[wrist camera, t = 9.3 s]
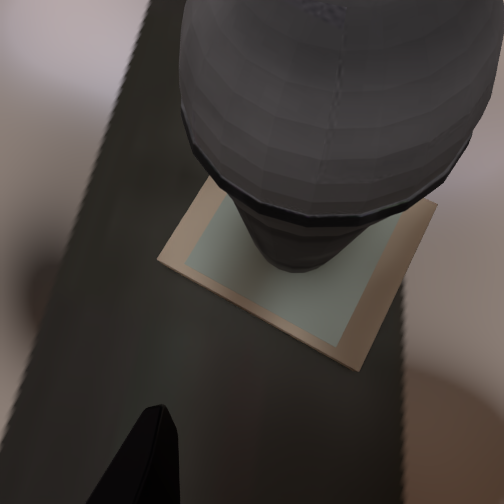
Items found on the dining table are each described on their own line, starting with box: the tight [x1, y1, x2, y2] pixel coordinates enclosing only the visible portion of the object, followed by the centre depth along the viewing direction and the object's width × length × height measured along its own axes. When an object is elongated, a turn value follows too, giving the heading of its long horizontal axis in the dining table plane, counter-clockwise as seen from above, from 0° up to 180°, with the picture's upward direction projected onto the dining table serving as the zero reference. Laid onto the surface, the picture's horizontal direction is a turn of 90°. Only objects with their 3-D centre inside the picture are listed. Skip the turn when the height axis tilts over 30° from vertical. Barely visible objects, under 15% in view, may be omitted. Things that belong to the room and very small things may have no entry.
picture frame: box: [157, 176, 438, 372], centre depth 21 cm, size 12×10×2 cm
